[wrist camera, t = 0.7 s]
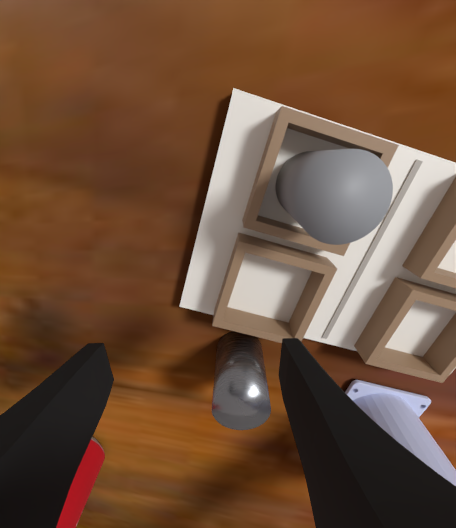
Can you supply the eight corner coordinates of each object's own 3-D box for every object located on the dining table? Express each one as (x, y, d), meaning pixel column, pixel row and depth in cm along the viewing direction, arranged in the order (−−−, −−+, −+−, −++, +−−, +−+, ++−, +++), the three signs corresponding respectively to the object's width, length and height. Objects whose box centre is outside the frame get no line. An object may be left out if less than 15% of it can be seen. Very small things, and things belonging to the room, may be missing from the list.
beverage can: (47, 453, 29) (-65, 634, 18) (55, 419, 27) (-68, 602, 16) (101, 468, 30) (25, 648, 19) (113, 436, 28) (35, 620, 17)
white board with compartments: (441, 365, 23) (521, 446, 17) (181, 299, 21) (158, 363, 15) (570, 204, 18) (764, 233, 11) (233, 92, 15) (233, 46, 9)
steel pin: (253, 370, 24) (259, 434, 18) (211, 360, 24) (205, 423, 18) (267, 336, 22) (279, 396, 17) (223, 325, 22) (220, 382, 17)
